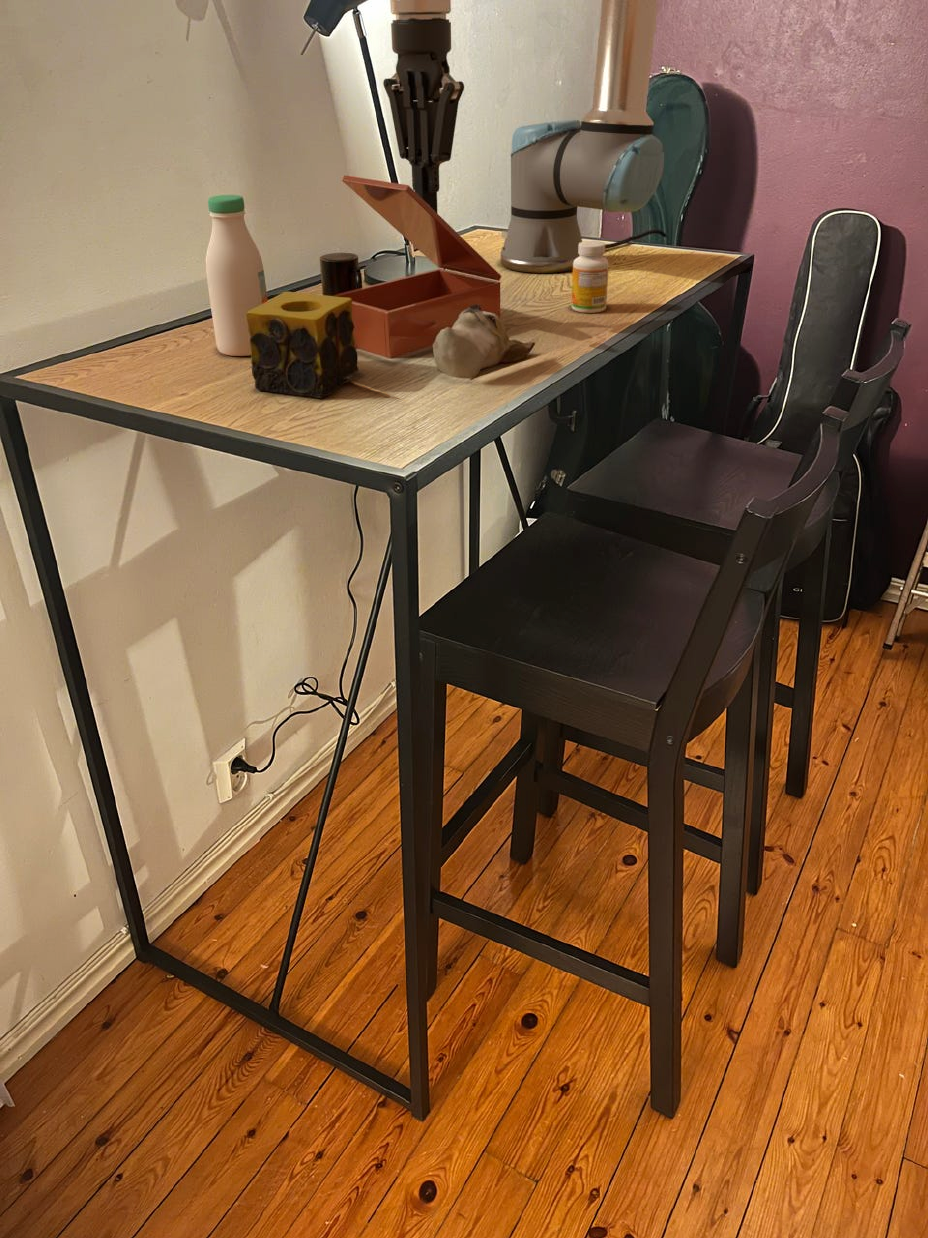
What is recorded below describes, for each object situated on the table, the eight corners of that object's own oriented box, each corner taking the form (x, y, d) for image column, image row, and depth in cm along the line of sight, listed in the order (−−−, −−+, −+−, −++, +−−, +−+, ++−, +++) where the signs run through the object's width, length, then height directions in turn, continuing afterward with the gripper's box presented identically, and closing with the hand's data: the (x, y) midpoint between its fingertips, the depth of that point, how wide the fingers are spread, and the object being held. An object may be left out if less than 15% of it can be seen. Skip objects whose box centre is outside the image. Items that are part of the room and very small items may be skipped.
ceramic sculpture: (410, 308, 126) (472, 289, 137) (410, 377, 130) (470, 353, 141) (484, 321, 121) (542, 299, 132) (481, 392, 125) (538, 365, 137)
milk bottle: (261, 358, 139) (241, 202, 128) (208, 355, 140) (184, 201, 129) (281, 341, 145) (264, 192, 134) (230, 339, 146) (209, 191, 136)
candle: (292, 366, 136) (284, 290, 130) (360, 374, 132) (355, 296, 127) (252, 391, 127) (241, 310, 122) (323, 400, 124) (316, 318, 119)
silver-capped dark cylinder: (317, 322, 153) (311, 256, 148) (346, 314, 157) (341, 250, 152) (349, 332, 149) (344, 264, 144) (378, 323, 152) (374, 257, 147)
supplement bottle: (576, 303, 160) (578, 238, 155) (609, 305, 159) (613, 240, 154) (567, 311, 156) (569, 246, 151) (601, 314, 154) (605, 248, 149)
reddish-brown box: (390, 364, 136) (387, 312, 132) (331, 345, 143) (326, 296, 140) (500, 329, 149) (500, 281, 145) (440, 313, 156) (439, 268, 153)
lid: (405, 190, 127) (408, 184, 127) (341, 180, 135) (344, 174, 135) (499, 281, 145) (501, 276, 145) (438, 267, 152) (440, 262, 152)
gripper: (363, 17, 128) (374, 215, 141) (435, 18, 121) (440, 227, 133) (407, 16, 133) (414, 207, 145) (479, 16, 125) (479, 219, 137)
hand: (426, 216), depth 139 cm, fingers closed
